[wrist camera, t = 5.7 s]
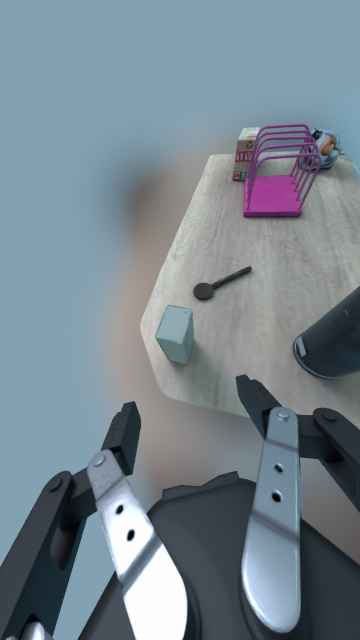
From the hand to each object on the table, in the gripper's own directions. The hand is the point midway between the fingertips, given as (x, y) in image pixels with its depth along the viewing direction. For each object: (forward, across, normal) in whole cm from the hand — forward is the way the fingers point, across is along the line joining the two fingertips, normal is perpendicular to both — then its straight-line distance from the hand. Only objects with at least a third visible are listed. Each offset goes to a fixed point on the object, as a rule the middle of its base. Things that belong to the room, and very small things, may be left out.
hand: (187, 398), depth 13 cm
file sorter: (+57, -44, -29) cm, 77 cm away
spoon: (+33, -15, -5) cm, 37 cm away
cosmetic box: (+23, 0, +6) cm, 24 cm away
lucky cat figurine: (+67, -70, -39) cm, 105 cm away
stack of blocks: (+76, -45, -47) cm, 100 cm away
